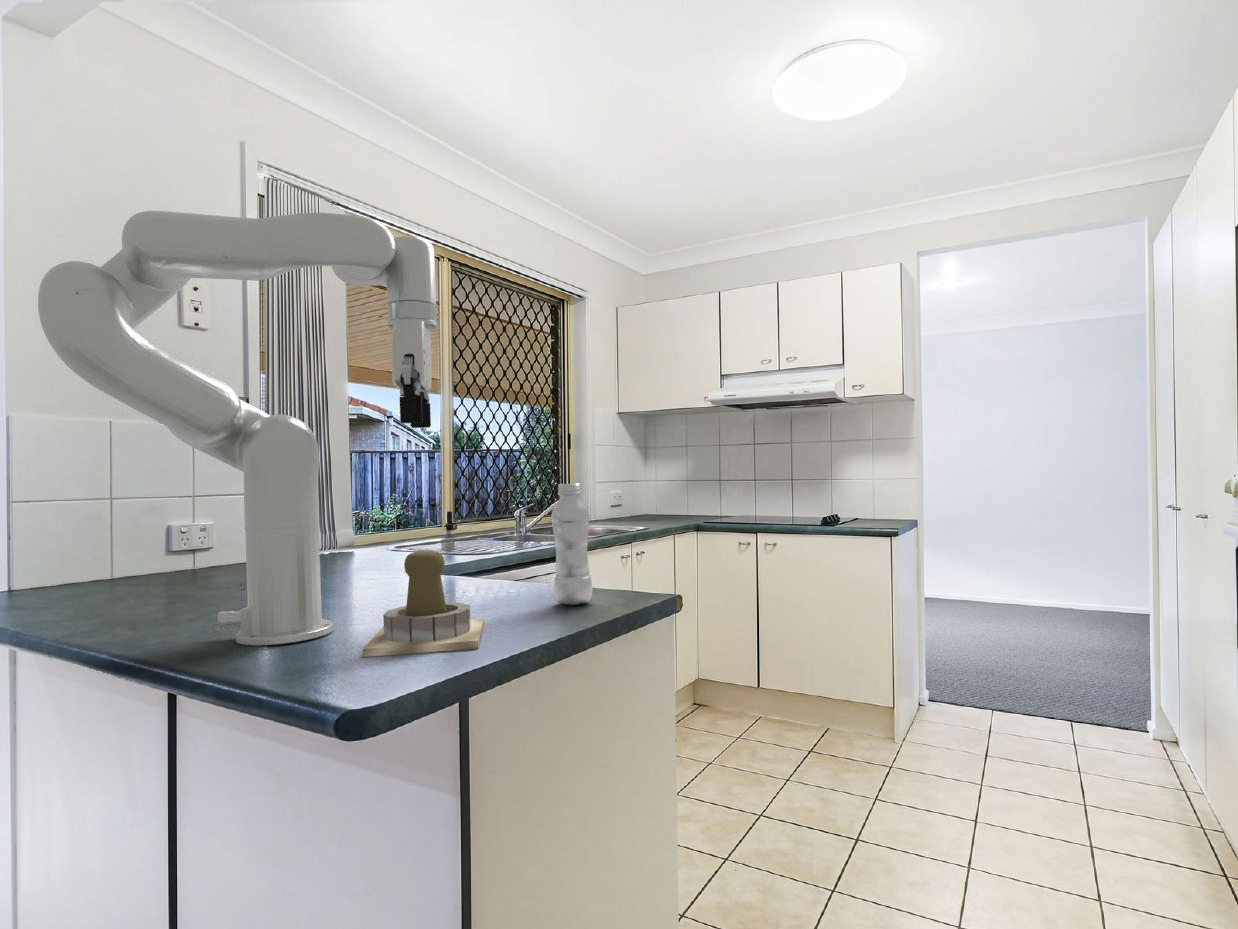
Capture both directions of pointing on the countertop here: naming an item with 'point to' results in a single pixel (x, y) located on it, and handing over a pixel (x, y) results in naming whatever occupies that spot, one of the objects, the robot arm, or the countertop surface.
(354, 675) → the countertop surface
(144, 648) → the countertop surface
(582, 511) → the plastic bottle
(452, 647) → the ring collar
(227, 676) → the countertop surface
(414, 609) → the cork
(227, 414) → the robot arm
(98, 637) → the countertop surface
